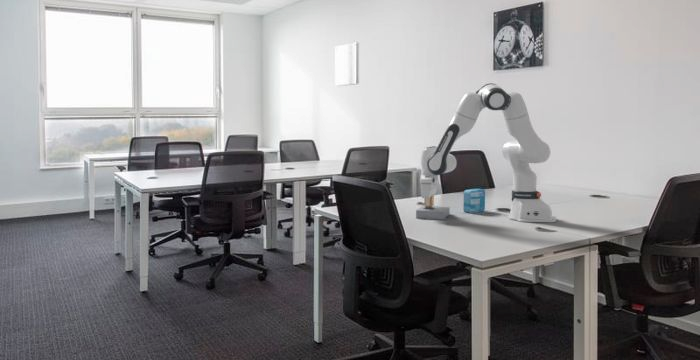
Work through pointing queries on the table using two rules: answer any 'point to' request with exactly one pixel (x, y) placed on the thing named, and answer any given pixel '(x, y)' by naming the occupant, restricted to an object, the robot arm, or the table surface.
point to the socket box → (433, 212)
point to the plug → (430, 202)
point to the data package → (474, 200)
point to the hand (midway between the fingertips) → (429, 204)
